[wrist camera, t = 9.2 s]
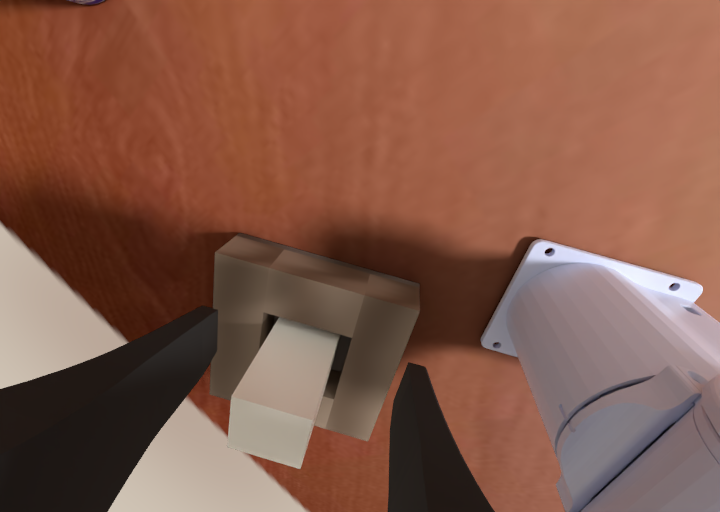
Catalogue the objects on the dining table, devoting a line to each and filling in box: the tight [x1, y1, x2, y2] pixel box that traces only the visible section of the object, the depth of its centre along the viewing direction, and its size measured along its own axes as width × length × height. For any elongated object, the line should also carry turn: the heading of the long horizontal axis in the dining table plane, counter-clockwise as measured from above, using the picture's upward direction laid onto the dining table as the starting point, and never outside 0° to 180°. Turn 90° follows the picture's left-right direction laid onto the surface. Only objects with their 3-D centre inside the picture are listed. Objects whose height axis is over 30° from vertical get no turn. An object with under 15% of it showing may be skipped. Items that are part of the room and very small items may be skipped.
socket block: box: [210, 233, 420, 441], centre depth 23 cm, size 12×12×3 cm
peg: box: [227, 317, 340, 469], centre depth 20 cm, size 4×4×8 cm
